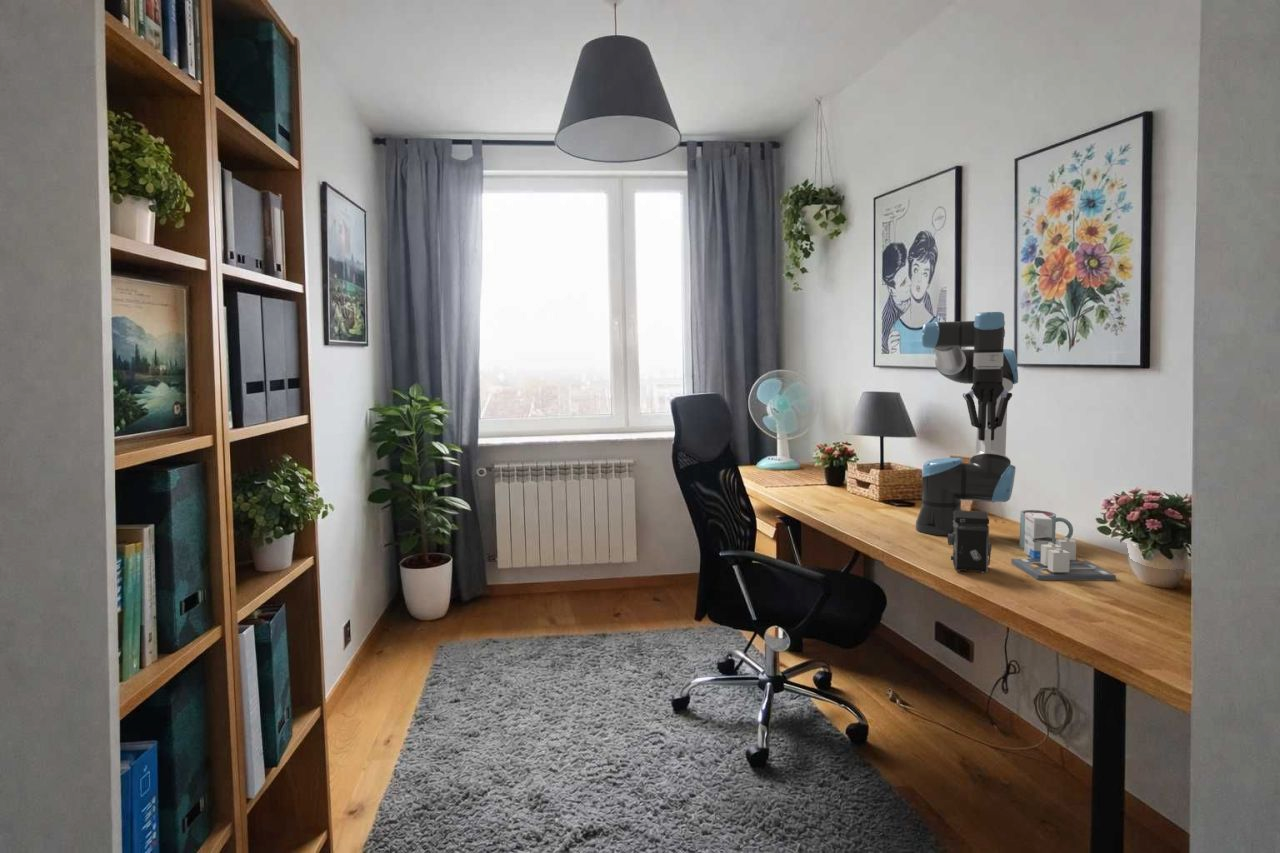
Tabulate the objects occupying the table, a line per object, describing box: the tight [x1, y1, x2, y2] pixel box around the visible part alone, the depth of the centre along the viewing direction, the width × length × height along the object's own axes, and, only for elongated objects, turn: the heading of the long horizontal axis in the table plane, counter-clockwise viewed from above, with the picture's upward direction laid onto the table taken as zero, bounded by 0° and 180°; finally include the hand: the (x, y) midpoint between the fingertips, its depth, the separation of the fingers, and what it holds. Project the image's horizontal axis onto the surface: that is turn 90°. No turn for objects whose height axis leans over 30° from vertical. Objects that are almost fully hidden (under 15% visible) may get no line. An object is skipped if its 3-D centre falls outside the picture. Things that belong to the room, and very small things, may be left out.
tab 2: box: [1055, 536, 1077, 560], centre depth 197 cm, size 3×4×6 cm, turn 87°
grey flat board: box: [1010, 558, 1117, 581], centre depth 192 cm, size 15×19×2 cm
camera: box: [947, 510, 992, 574], centre depth 196 cm, size 10×11×15 cm
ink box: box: [1023, 513, 1052, 559], centre depth 206 cm, size 9×5×12 cm, turn 168°
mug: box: [1019, 509, 1074, 549], centre depth 215 cm, size 14×9×10 cm
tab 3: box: [1048, 548, 1070, 572], centre depth 187 cm, size 3×4×6 cm, turn 87°
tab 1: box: [1041, 543, 1062, 566], centre depth 192 cm, size 3×4×6 cm, turn 87°
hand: (985, 452), depth 207 cm, fingers closed
